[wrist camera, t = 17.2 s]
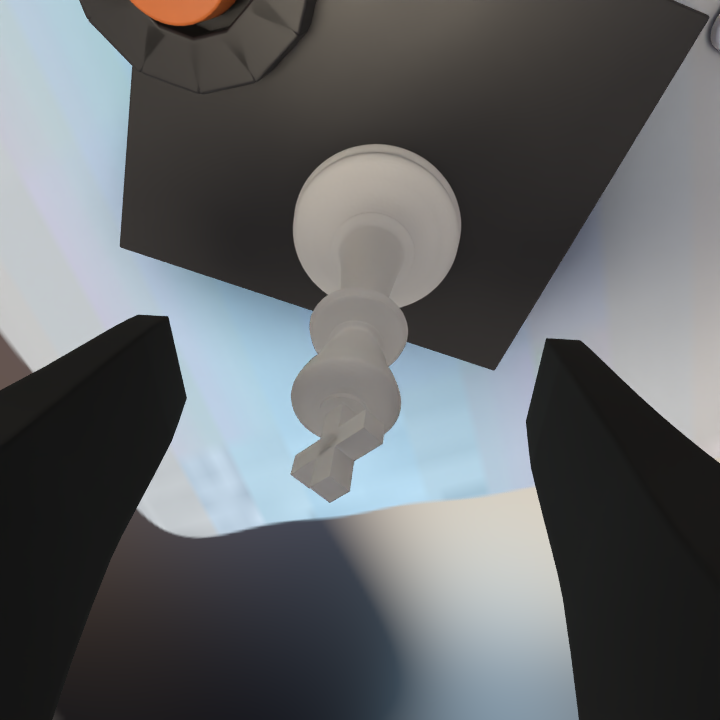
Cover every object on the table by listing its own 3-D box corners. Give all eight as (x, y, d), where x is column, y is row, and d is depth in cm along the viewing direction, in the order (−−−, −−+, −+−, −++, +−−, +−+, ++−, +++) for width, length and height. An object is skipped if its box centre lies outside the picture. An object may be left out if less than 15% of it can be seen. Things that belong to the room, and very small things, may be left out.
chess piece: (495, 236, 16) (562, 511, 8) (372, 328, 19) (331, 613, 11) (382, 102, 15) (327, 287, 6) (261, 222, 17) (108, 470, 9)
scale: (700, 0, 14) (747, 8, 12) (491, 353, 20) (499, 397, 18) (115, -250, 12) (52, -292, 10) (96, 221, 18) (55, 253, 16)
